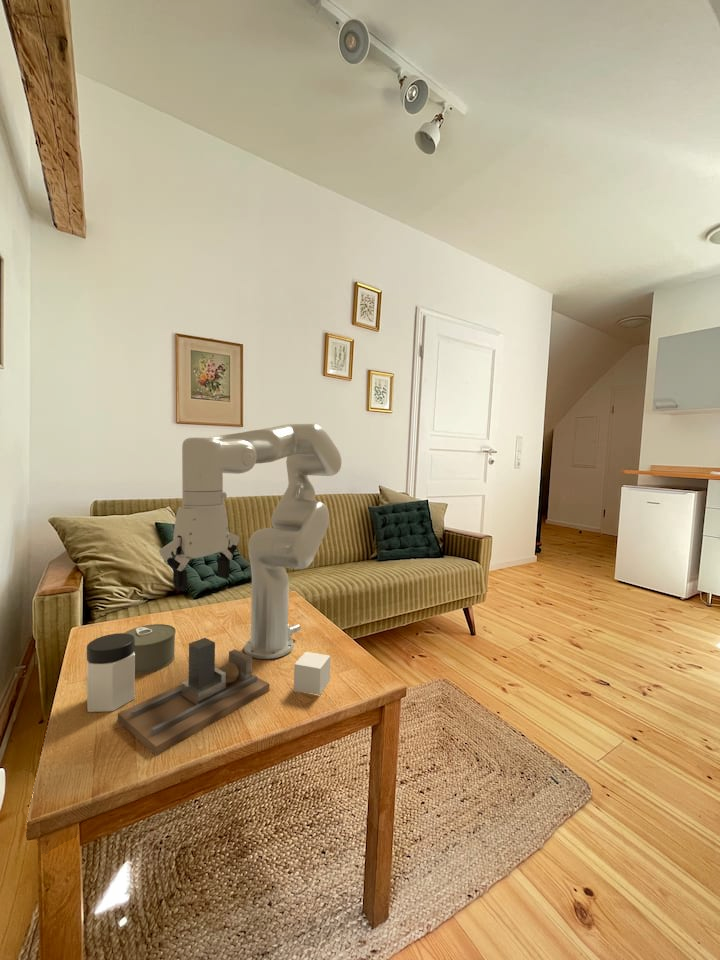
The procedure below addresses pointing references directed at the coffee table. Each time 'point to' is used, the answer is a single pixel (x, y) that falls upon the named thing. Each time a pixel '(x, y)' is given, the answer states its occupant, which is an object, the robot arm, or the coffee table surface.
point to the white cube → (311, 673)
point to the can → (153, 647)
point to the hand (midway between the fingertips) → (203, 583)
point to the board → (191, 707)
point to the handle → (203, 673)
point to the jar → (110, 672)
